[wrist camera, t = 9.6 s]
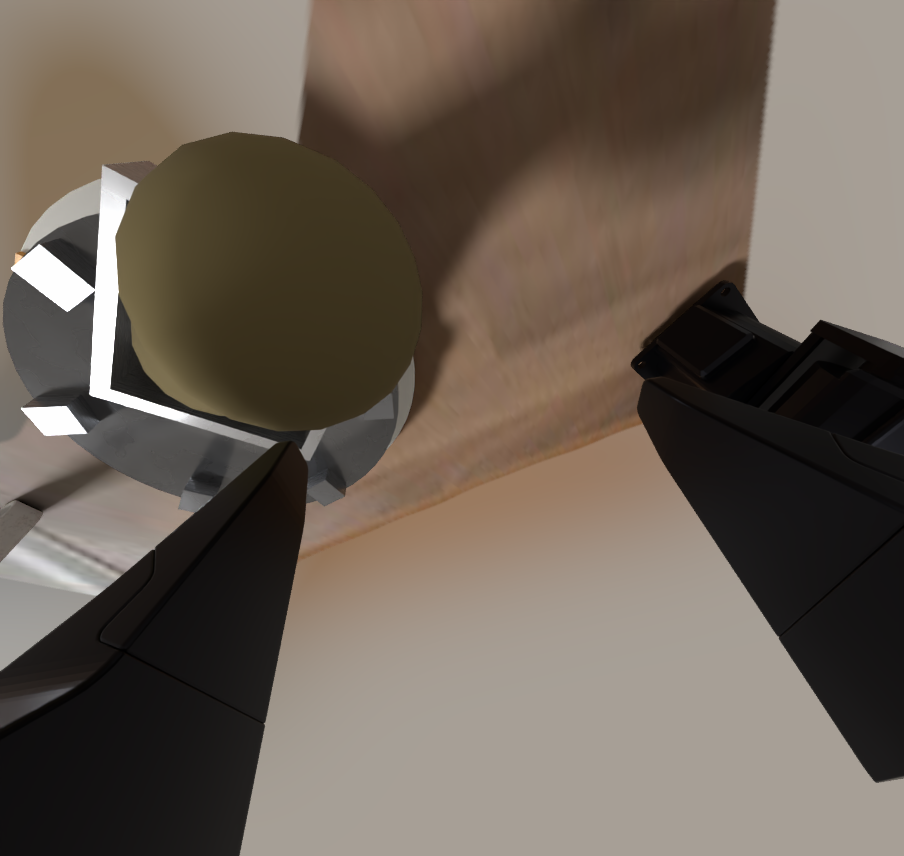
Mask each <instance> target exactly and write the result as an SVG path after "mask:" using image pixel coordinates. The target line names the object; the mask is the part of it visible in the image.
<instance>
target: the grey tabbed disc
mask: <svg viewBox="0 0 904 856" xmlns="http://www.w3.org/2000/svg"><path fill="white" fill-rule="evenodd" d="M156 167H157V165H155V164H153V163H151V162H150V161H143V162H142V161H141V162H130V163H118V164H107V165H102V180H101V199H100V213H97V214H94V215H90V216H86V217H83V218H80V219H78V220H75V221H73V222H71V223H68V224H66V225H63V226H61V227H58V228H57V229H55V230H54V231H52V232H51V233H49V234H48V235H46V236H45V237H43V238H42V239H40V240H39V241H37V242H36V243H35V244H34V245H33V246H32V248H31V249H30V250H29V251H28V252H27V253H26V254H25V255H24V256H23V257H22V258H21V259H20V261H19V262H18V263H17V264H15V265H14V266H13V267H12V268H11V269H12V270H13V271H14V272H13V274H12V276H11V278H10V279H9V282H8V286H7V290H6V294H5V298H4V302H3V327H4V332H5V338H6V342H7V348H8V350H9V353H10V355H11V358H12V361H13V363H14V366H15V369H16V371H17V372H18V374H19V376H20V378H21V380H22V381H23V383H24V385H25V387H26V388H27V390H28V391H29V393H30V394H31V395H32V397H33V398H34V399H33V400H32V401H30V402H29V403H27V404H26V405H25V406H23V407H22V408H21V409H22V410H23V411H24V412H25V414H26V415H27V416H28V417H29V418H30V419H31V420H32V421H33V423H34V424H35V425H36V426H37V427H38V428H39V429H40V430H41V432H42V433H43V434H44V435H45V436H49V435H68V436H69V437H70V438H71V439H72V440H74V441H75V442H76V443H77V444H78V445H80V446H81V447H82V448H84V449H85V450H87V451H88V452H89V453H91V454H92V455H93V456H95V457H96V458H98V459H99V460H101V461H103V462H104V463H106V464H107V465H109V466H111V467H112V468H114V469H116V470H117V471H119V472H121V473H123V474H125V475H127V476H129V477H131V478H133V479H135V480H137V481H139V482H141V483H144V484H146V485H149V486H151V487H153V488H156V489H158V490H161V491H164V492H167V493H170V494H173V495H176V496H179V497H181V501H180V504H179V508H178V509H181V510H186V511H191V512H197V511H198V510H199V509H200V508H201V507H202V506H203V505H205V504H206V503H207V502H208V501H209V500H210V499H212V498H213V497H214V496H215V495H216V494H217V493H219V492H220V491H221V490H222V489H223V488H224V487H225V486H227V485H228V484H229V483H230V482H231V481H232V480H234V479H235V478H236V477H237V476H238V475H239V474H241V473H242V472H243V471H244V470H245V469H246V468H248V467H249V466H250V465H251V464H252V463H253V462H254V461H256V460H257V459H258V458H259V457H260V456H261V455H263V454H264V453H265V452H266V451H267V450H268V449H270V448H271V447H272V446H273V445H274V444H276V443H278V442H284V441H290V440H291V441H294V442H295V443H296V444H297V446H298V448H299V450H300V452H301V453H302V455H303V457H304V459H305V460H306V462H307V465H308V484H307V498H306V503H310V502H314V501H318V502H319V503H321V504H322V505H323V506H326V505H328V504H330V503H332V502H334V501H336V500H338V499H340V498H343V497H345V492H346V488H347V487H349V486H351V485H353V484H354V483H355V482H357V481H358V480H359V479H361V478H362V477H363V476H365V475H366V474H367V473H368V472H369V471H370V470H371V469H372V468H373V467H374V466H375V465H376V464H377V462H378V461H379V460H380V458H381V457H382V456H383V454H384V453H385V451H386V449H387V447H388V445H389V444H390V442H391V439H392V436H393V433H394V431H395V428H396V423H397V417H398V402H399V392H398V384H397V385H396V387H395V388H394V390H393V391H392V392H391V393H390V394H389V395H388V396H386V397H385V398H384V399H382V400H381V401H380V402H379V403H377V404H376V405H375V406H373V407H372V408H371V409H370V410H368V411H367V412H366V413H364V414H362V415H360V416H358V417H355V418H352V419H350V420H347V421H344V422H341V423H338V424H336V425H333V426H330V427H327V428H324V429H322V430H304V431H274V430H270V429H266V428H262V427H259V426H255V425H251V424H247V423H243V422H239V421H235V420H231V419H229V418H228V417H226V416H218V415H215V414H211V413H207V412H203V411H199V410H195V409H192V408H190V407H188V406H186V405H185V404H183V403H181V402H179V401H178V400H176V399H174V398H172V397H171V396H169V395H167V394H165V393H164V392H163V391H162V389H161V388H160V387H159V386H158V385H157V384H156V383H155V382H154V381H153V380H152V379H151V378H150V377H149V376H148V375H147V374H146V373H145V372H144V370H143V367H142V365H141V363H140V361H139V359H138V357H137V355H136V352H135V350H134V348H133V346H132V332H131V320H130V318H129V316H128V314H127V312H126V309H125V307H124V305H123V303H122V301H121V299H120V296H119V294H118V281H117V264H116V247H115V235H116V232H117V230H118V227H119V225H120V223H121V220H122V218H123V215H124V213H125V210H126V208H127V205H128V203H129V200H130V198H131V195H132V193H133V190H134V188H135V186H136V185H137V184H138V183H139V182H140V181H141V180H142V179H143V178H144V177H145V176H146V175H148V174H149V173H150V172H151V171H152V170H154V169H155V168H156Z"/></svg>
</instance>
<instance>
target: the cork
mask: <svg viewBox="0 0 904 856" xmlns="http://www.w3.org/2000/svg"><path fill="white" fill-rule="evenodd" d="M115 247H116V264H117V281H118V294H119V296H120V299H121V301H122V303H123V305H124V307H125V309H126V312H127V314H128V316H129V318H130V320H131V332H132V346H133V348H134V350H135V352H136V355H137V357H138V359H139V361H140V363H141V365H142V367H143V370H144V372H145V373H146V374H147V375H148V376H149V377H150V378H151V379H152V380H153V381H154V382H155V383H156V384H157V385H158V386H159V387H160V388H161V389H162V391H163V392H164V393H165V394H167V395H169V396H171V397H172V398H174V399H176V400H178V401H179V402H181V403H183V404H185V405H186V406H188V407H190V408H192V409H195V410H199V411H203V412H207V413H211V414H215V415H218V416H226V417H228V418H229V419H231V420H235V421H239V422H243V423H247V424H251V425H255V426H259V427H262V428H266V429H270V430H274V431H304V430H322V429H324V428H327V427H330V426H333V425H336V424H338V423H341V422H344V421H347V420H350V419H352V418H355V417H358V416H360V415H362V414H364V413H366V412H367V411H368V410H370V409H371V408H372V407H373V406H375V405H376V404H377V403H379V402H380V401H381V400H382V399H384V398H385V397H386V396H388V395H389V394H390V393H391V392H392V391H393V390H394V388H395V387H396V385H397V384H398V382H399V381H400V379H401V378H402V376H403V375H404V373H405V372H406V370H407V369H408V367H409V366H410V364H411V361H412V357H413V354H414V351H415V347H416V344H417V341H418V338H419V334H420V331H421V326H422V288H421V284H420V279H419V275H418V270H417V266H416V261H415V257H414V255H413V253H412V251H411V249H410V246H409V244H408V242H407V240H406V238H405V236H404V234H403V232H402V230H401V228H400V226H399V223H398V221H397V220H396V219H395V218H394V216H393V215H392V214H391V213H390V211H389V210H388V209H387V208H386V206H385V205H384V204H383V202H382V201H381V200H380V199H379V197H378V196H377V195H376V194H375V192H374V191H373V190H372V189H371V188H370V187H369V186H368V185H366V184H365V183H364V182H363V181H361V180H360V179H359V178H358V177H356V176H355V175H354V174H353V173H351V172H350V171H349V170H348V169H346V168H345V167H344V166H342V165H341V164H340V163H339V162H337V161H336V160H334V159H332V158H329V157H327V156H325V155H323V154H320V153H318V152H316V151H313V150H311V149H309V148H307V147H304V146H302V145H300V144H297V143H295V142H293V141H290V140H288V139H285V138H282V137H273V136H264V135H255V134H247V133H238V132H229V133H226V134H222V135H218V136H214V137H210V138H206V139H203V140H199V141H195V142H191V143H187V144H184V145H182V146H180V147H179V148H178V149H177V150H176V151H175V152H173V153H172V154H171V155H170V156H169V157H168V158H166V159H165V160H164V161H163V162H162V163H161V164H159V165H158V166H157V167H156V168H155V169H154V170H152V171H151V172H150V173H149V174H148V175H146V176H145V177H144V178H143V179H142V180H141V181H140V182H139V183H138V184H137V185H136V186H135V188H134V190H133V193H132V195H131V198H130V200H129V203H128V205H127V208H126V210H125V213H124V215H123V218H122V220H121V223H120V225H119V227H118V230H117V232H116V235H115Z"/></svg>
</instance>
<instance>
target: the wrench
mask: <svg viewBox="0 0 904 856" xmlns="http://www.w3.org/2000/svg"><path fill="white" fill-rule="evenodd" d="M42 515H43V512H41V511H38V510H36V509H34V508H32V507H30V506H28V505H25V504H23V503H21V502H19V501H16V500H14V501H12V502H10V503H8V504H6V505H5V506H3V507H2V508H1V509H0V562H1V561H2V560H3V559H4V558H5V557H6V556H7V555H8V553H9V552H10V551H11V550H12V549H13V548H14V547H15V546H16V545H17V544H18V543H19V542H20V541H21V539H22V538H23V537H24V536H25V535H26V534H27V533H28V532H29V531H30V530H31V529H32V528H33V527H34V525H35V524H36V523H37V522H38V521H39V520H40V518H41V517H42Z"/></svg>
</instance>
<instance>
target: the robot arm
mask: <svg viewBox="0 0 904 856" xmlns="http://www.w3.org/2000/svg"><path fill="white" fill-rule="evenodd" d="M724 289H725V290H724ZM723 290H724V291H723ZM722 291H723V292H722ZM721 292H722V293H721ZM811 332H812V333H811V334H810V335H809V336H808V337H807V338H806V339H805V340H804V342H802V343H800V342H798V341H796V340H794V339H792V338H790V337H788V336H786V335H784V334H782V333H780V332H778V331H776V330H774V329H772V328H770V327H768V326H766V325H764V324H762V323H760V322H759V321H758V319H757V318H756V316H755V315H754V313H753V312H752V310H751V309H750V307H749V306H748V304H747V303H746V301H745V300H744V298H743V297H742V295H741V294H740V292H739V291H738V289H737V288H736V286H735V285H734V284H733V283H731V282H729V281H721V282H719V283H718V284H717V285H715V286H714V287H713V288H712V289H711V290H710V291H709V292H708V293H706V294H705V295H704V296H703V297H702V298H701V299H700V300H699V301H697V302H696V303H695V304H694V305H693V306H692V307H691V308H690V309H689V310H687V311H686V312H685V313H684V314H683V315H682V316H681V317H680V318H678V319H677V320H676V321H675V322H674V323H673V324H672V325H671V326H669V327H668V328H667V329H666V330H665V331H664V332H663V333H662V334H660V335H659V336H658V337H657V338H656V339H655V340H654V341H653V342H652V343H650V344H649V345H648V346H647V347H646V348H645V349H644V350H643V351H641V352H640V353H639V354H638V355H637V356H636V357H635V358H634V359H633V360H632V362H631V367H632V368H633V369H634V370H635V371H636V372H637V373H638V374H639V375H640V376H641V377H642V378H644V379H645V381H644V382H643V385H642V388H641V392H640V397H639V401H638V405H637V410H638V414H639V417H640V419H641V421H642V423H643V425H644V427H645V428H646V430H647V432H648V434H649V436H650V439H651V440H652V442H653V444H654V446H655V448H656V450H657V452H658V454H659V456H660V458H661V460H662V462H663V463H664V465H665V466H666V468H667V470H668V471H669V473H670V474H671V476H672V477H673V479H674V480H675V482H676V483H677V485H678V486H679V488H680V489H681V491H682V492H683V494H684V496H685V497H686V498H687V500H688V502H689V503H690V505H691V506H692V508H693V509H694V511H695V512H696V514H697V515H698V517H699V518H700V520H701V521H702V523H703V524H704V526H705V527H706V529H707V530H708V532H709V533H710V535H711V536H712V538H713V539H714V541H715V542H716V544H717V545H718V547H719V549H720V550H721V552H722V553H723V555H724V556H725V558H726V559H727V560H728V562H729V564H730V565H731V567H732V568H733V570H734V571H735V573H736V574H737V576H738V577H739V579H740V580H741V582H742V583H743V585H744V586H745V588H746V589H747V591H748V592H749V594H750V596H751V597H752V599H753V600H754V602H755V603H756V604H757V606H758V608H759V609H760V611H761V612H762V614H763V615H764V617H765V618H766V620H767V621H768V623H769V624H770V625H771V627H772V629H773V630H774V632H775V633H776V635H777V636H779V640H780V641H781V643H782V644H783V646H784V648H785V649H786V651H787V652H788V653H789V655H790V657H791V658H792V660H793V661H794V663H795V664H796V666H797V667H798V669H799V670H800V672H801V673H802V675H803V676H804V678H805V679H806V681H807V682H808V684H809V685H810V686H811V688H812V690H813V691H814V693H815V694H816V696H817V697H818V699H819V701H820V702H821V703H822V705H823V707H824V708H825V710H826V711H827V713H828V714H829V716H830V717H831V719H832V720H833V722H834V723H835V725H836V726H837V728H838V729H839V731H840V732H841V734H842V735H843V737H844V738H845V740H846V741H847V743H848V744H849V746H850V747H851V749H852V750H853V752H854V754H855V755H856V757H857V758H858V760H859V761H860V763H861V764H862V766H863V767H864V768H865V770H866V771H867V773H868V774H869V775H870V776H871V777H872V779H873V780H874V781H875V782H876V783H879V782H885V781H891V780H897V779H903V778H904V348H903V347H901V346H898V345H896V344H893V343H890V342H888V341H885V340H882V339H879V338H876V337H872V336H870V335H866V334H863V333H860V332H857V331H854V330H851V329H848V328H844V327H841V326H838V325H835V324H832V323H829V322H826V321H823V320H820V321H819V322H818V323H817V324H816V325H815V326H814V327H813V328H812V329H811ZM640 362H642V363H641V364H640V365H638V364H639V363H640ZM307 484H308V465H307V462H306V460H305V459H304V457H303V455H302V453H301V452H300V450H299V448H298V446H297V444H296V443H295V442H294V441H291V440H290V441H284V442H278V443H276V444H274V445H273V446H272V447H271V448H270V449H268V450H267V451H266V452H265V453H264V454H263V455H261V456H260V457H259V458H258V459H257V460H256V461H254V462H253V463H252V464H251V465H250V466H249V467H248V468H246V469H245V470H244V471H243V472H242V473H241V474H239V475H238V476H237V477H236V478H235V479H234V480H232V481H231V482H230V483H229V484H228V485H227V486H225V487H224V488H223V489H222V490H221V491H220V492H219V493H217V494H216V495H215V496H214V497H213V498H212V499H210V500H209V501H208V502H207V503H206V504H205V505H203V506H202V507H201V508H200V509H199V510H198V511H197V512H195V513H194V514H193V515H192V516H191V517H190V518H188V519H187V520H186V521H185V522H184V523H183V524H181V525H180V526H179V527H178V528H177V529H176V530H174V531H173V532H172V533H171V534H170V535H169V536H168V537H166V538H165V539H164V540H163V541H162V542H161V543H159V544H158V545H157V546H156V547H155V550H151V551H150V552H149V553H148V554H147V555H145V556H144V557H143V558H142V559H141V560H140V561H138V562H137V563H136V564H135V565H134V566H133V567H131V568H130V569H129V570H128V571H127V572H125V573H124V574H123V575H122V576H121V577H119V578H118V579H117V580H116V581H115V582H114V583H112V584H111V585H110V586H109V587H107V588H106V589H105V590H104V591H102V592H101V593H100V594H99V595H97V596H96V597H95V598H94V599H93V600H91V601H90V602H89V603H87V604H86V605H85V606H84V607H82V608H81V609H80V610H78V611H77V612H76V613H75V614H74V615H72V616H71V617H70V618H68V619H67V620H66V621H64V622H63V623H62V624H61V625H59V626H58V627H57V628H55V629H54V630H53V631H52V632H50V633H49V634H48V635H46V636H45V637H44V638H43V639H41V640H40V641H39V642H37V643H36V644H35V645H34V646H32V647H31V648H30V649H29V650H27V651H26V652H25V653H24V654H22V655H21V656H19V657H18V658H17V659H16V660H15V661H13V662H12V663H11V664H9V665H8V666H7V667H5V668H4V669H3V670H1V671H0V856H239V855H240V850H241V845H242V840H243V835H244V829H245V824H246V819H247V814H248V809H249V804H250V798H251V794H252V789H253V784H254V779H255V774H256V769H257V764H258V758H259V753H260V748H261V743H262V738H263V732H264V728H265V725H264V723H265V721H266V716H267V711H268V706H269V701H270V696H271V691H272V686H273V681H274V676H275V671H276V666H277V661H278V655H279V650H280V646H281V640H282V635H283V630H284V624H285V620H286V615H287V610H288V605H289V599H290V595H291V590H292V585H293V580H294V574H295V569H296V564H297V559H298V554H299V549H300V544H301V539H302V534H303V528H304V522H305V511H306V498H307Z"/></svg>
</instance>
